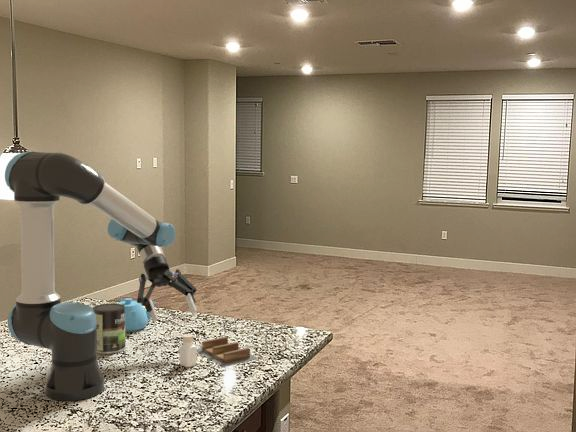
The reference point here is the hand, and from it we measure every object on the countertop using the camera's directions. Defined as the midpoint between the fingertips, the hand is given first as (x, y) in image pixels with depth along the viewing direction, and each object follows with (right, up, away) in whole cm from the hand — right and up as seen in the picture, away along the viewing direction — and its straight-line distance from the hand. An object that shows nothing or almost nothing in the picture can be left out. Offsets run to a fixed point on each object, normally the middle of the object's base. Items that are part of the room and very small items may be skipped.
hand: (175, 316), depth 197 cm
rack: (+16, -13, +3) cm, 20 cm away
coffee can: (-23, -12, +8) cm, 27 cm away
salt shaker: (+5, -14, -6) cm, 16 cm away
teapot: (-23, -9, +32) cm, 40 cm away
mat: (+16, -13, +3) cm, 20 cm away
